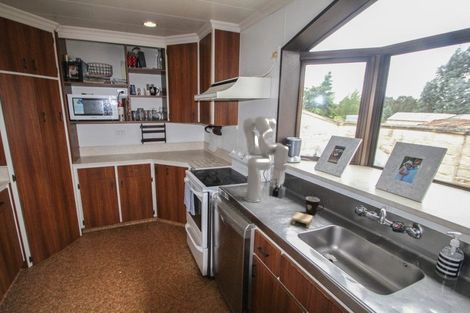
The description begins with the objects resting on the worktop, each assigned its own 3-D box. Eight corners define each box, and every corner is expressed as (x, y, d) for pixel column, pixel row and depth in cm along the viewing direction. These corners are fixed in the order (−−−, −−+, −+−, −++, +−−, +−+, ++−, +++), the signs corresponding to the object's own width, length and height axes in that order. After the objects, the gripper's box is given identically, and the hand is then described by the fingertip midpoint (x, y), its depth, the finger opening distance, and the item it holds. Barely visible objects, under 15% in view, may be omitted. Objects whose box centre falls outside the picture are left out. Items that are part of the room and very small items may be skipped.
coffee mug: (301, 211, 161) (303, 197, 159) (311, 210, 164) (313, 196, 162) (312, 218, 151) (314, 203, 149) (323, 217, 154) (325, 202, 152)
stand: (291, 223, 142) (292, 217, 141) (295, 217, 151) (296, 211, 150) (308, 228, 137) (309, 222, 137) (311, 222, 146) (312, 215, 145)
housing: (268, 195, 145) (269, 185, 143) (272, 193, 149) (273, 183, 148) (281, 198, 141) (282, 188, 139) (284, 196, 145) (285, 186, 144)
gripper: (279, 162, 150) (276, 190, 154) (268, 167, 136) (265, 197, 139) (290, 164, 146) (287, 192, 150) (280, 170, 132) (277, 201, 136)
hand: (276, 194), depth 145 cm, fingers closed on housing, 5 cm apart
